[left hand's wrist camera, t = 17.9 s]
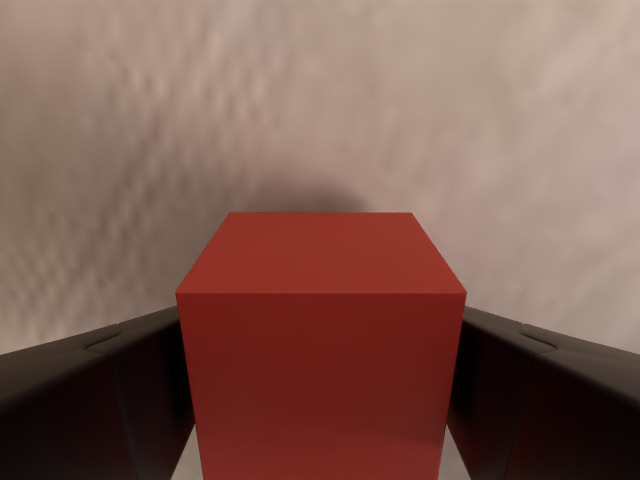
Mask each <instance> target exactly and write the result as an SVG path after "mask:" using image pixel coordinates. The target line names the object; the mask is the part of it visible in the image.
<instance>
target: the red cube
mask: <svg viewBox="0 0 640 480" xmlns="http://www.w3.org/2000/svg"><path fill="white" fill-rule="evenodd" d="M466 294H467V292H466V290H465V289H464V287H463V286H462V284H461V283H460V282H459V280H458V279H457V277H456V276H455V274H454V273H453V272H452V270H451V269H450V267H449V266H448V264H447V263H446V261H445V260H444V259H443V257H442V256H441V254H440V253H439V251H438V250H437V249H436V247H435V246H434V244H433V243H432V241H431V240H430V239H429V237H428V236H427V234H426V233H425V231H424V230H423V228H422V227H421V226H420V224H419V223H418V221H417V220H416V218H415V217H414V216H413V214H412V213H229V214H228V216H227V217H226V219H225V220H224V222H223V223H222V225H221V226H220V227H219V229H218V230H217V232H216V233H215V235H214V236H213V238H212V239H211V241H210V242H209V244H208V245H207V246H206V248H205V249H204V251H203V252H202V254H201V255H200V257H199V258H198V260H197V261H196V263H195V264H194V265H193V267H192V268H191V270H190V271H189V273H188V274H187V276H186V277H185V279H184V280H183V282H182V283H181V284H180V286H179V287H178V289H177V290H176V299H177V305H178V312H179V319H180V325H181V332H182V339H183V345H184V352H185V359H186V365H187V372H188V379H189V385H190V392H191V399H192V405H193V412H194V419H195V425H196V432H197V439H198V445H199V452H200V459H201V465H202V472H203V479H204V480H438V474H439V467H440V461H441V455H442V448H443V442H444V435H445V429H446V423H447V416H448V410H449V403H450V397H451V390H452V384H453V378H454V371H455V365H456V358H457V352H458V346H459V339H460V333H461V326H462V320H463V313H464V307H465V301H466Z"/></svg>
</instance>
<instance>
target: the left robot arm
mask: <svg viewBox="0 0 640 480" xmlns="http://www.w3.org/2000/svg"><path fill="white" fill-rule="evenodd" d="M446 424H447V426H448V428H449V430H450V433H451V435H452V437H453V440H454V442H455V444H456V446H457V449H458V451H459V453H460V456H461V458H462V460H463V462H464V465H465V467H466V469H467V472H468V474H469V476H470V478H471V480H640V355H639V354H635V353H632V352H628V351H624V350H620V349H616V348H612V347H609V346H605V345H601V344H597V343H593V342H589V341H585V340H582V339H578V338H574V337H571V336H567V335H563V334H560V333H556V332H553V331H549V330H546V329H542V328H539V327H535V326H532V325H529V324H524V325H523V323H520V322H517V321H514V320H510V319H507V318H504V317H501V316H497V315H494V314H491V313H487V312H484V311H481V310H477V309H474V308H471V307H468V306H465V307H464V313H463V320H462V326H461V333H460V339H459V346H458V352H457V358H456V365H455V371H454V378H453V384H452V390H451V397H450V403H449V410H448V416H447V423H446ZM194 425H195V419H194V412H193V405H192V399H191V392H190V385H189V379H188V372H187V365H186V359H185V352H184V345H183V339H182V332H181V325H180V319H179V312H178V305H177V306H174V307H171V308H167V309H164V310H161V311H157V312H154V313H151V314H148V315H144V316H141V317H138V318H134V319H131V320H128V321H125V322H121V323H119V324H113V325H110V326H106V327H103V328H100V329H96V330H93V331H89V332H86V333H82V334H79V335H75V336H71V337H68V338H64V339H60V340H57V341H53V342H49V343H45V344H41V345H37V346H34V347H30V348H26V349H22V350H18V351H14V352H11V353H7V354H3V355H0V480H171V478H172V475H173V473H174V471H175V468H176V466H177V464H178V462H179V459H180V457H181V455H182V452H183V450H184V448H185V445H186V443H187V441H188V438H189V436H190V434H191V432H192V429H193V427H194Z"/></svg>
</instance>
